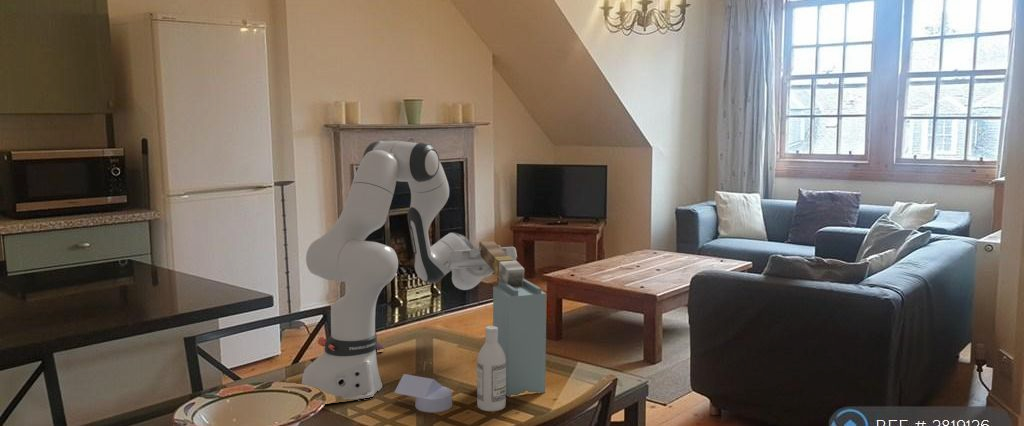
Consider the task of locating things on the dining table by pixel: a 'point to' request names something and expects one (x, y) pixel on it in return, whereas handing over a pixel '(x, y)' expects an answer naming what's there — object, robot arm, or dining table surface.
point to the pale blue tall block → (521, 335)
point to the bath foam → (491, 373)
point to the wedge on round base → (425, 393)
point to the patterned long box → (502, 264)
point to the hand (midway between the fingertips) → (489, 248)
